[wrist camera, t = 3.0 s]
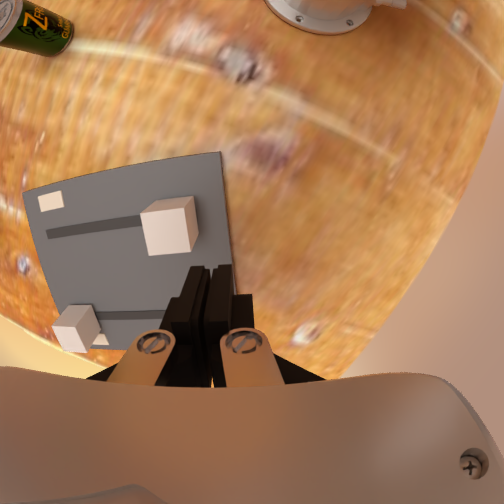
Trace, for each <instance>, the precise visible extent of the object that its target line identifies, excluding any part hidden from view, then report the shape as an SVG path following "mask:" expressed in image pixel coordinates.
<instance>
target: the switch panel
mask: <svg viewBox="0 0 504 504" xmlns="http://www.w3.org/2000/svg"><path fill="white" fill-rule="evenodd" d="M22 195H23V200H24V204H25V209H26V213H27V218H28V222H29V226H30V229H31V233H32V237H33V240H34V244H35V247H36V251H37V254H38V257H39V260H40V263H41V266H42V269H43V272H44V275H45V278H46V281H47V284H48V286H49V289H50V292H51V294H52V297H53V299H54V302H55V304H56V307H57V309H58V312H59V314H60V315H61V314H62V313H63V311H64V310H65V309H66V308H67V307H68V305H92V308H93V311H94V313H95V316H96V318H97V321H98V323H99V326H100V328H101V330H100V332H99V334H98V335H97V337H96V339H95V340H94V342H93V344H92V345H91V347H90V348H91V349H112V350H128V348H129V347H130V345H131V344H132V342H133V341H134V340H135V338H136V337H137V336H139V335H140V334H142V333H144V332H147V331H150V330H158V329H159V327H160V324H161V322H162V319H163V316H164V314H165V311H166V309H167V306H168V304H169V301H170V299H171V297H179V296H180V293H181V291H182V288H183V285H184V282H185V280H186V277H187V274H188V272H189V269H190V267H191V266H202V265H204V266H205V269H210V274H211V277H212V272H213V268H218V265H222V264H232V269H233V282H234V294H235V295H237V292H236V284H235V276H234V267H233V259H232V251H231V242H230V234H229V225H228V216H227V207H226V198H225V189H224V180H223V170H222V161H221V152H212V153H204V154H196V155H188V156H181V157H175V158H168V159H162V160H156V161H150V162H144V163H139V164H134V165H128V166H123V167H118V168H114V169H109V170H104V171H100V172H96V173H91V174H87V175H83V176H79V177H75V178H71V179H67V180H63V181H60V182H56V183H52V184H49V185H45V186H42V187H38V188H35V189H32V190H29V191H26V192H24V193H22ZM187 196H194V203H195V210H196V217H197V224H198V231H199V234H198V236H197V239H196V241H195V244H194V246H193V248H192V251H191V252H185V253H174V254H163V255H152V256H149V254H148V250H147V245H146V240H145V236H144V231H143V226H142V221H141V216H140V213H141V212H142V211H144V210H145V209H146V208H147V207H149V206H150V205H151V204H152V203H153V202H155V201H156V200H163V199H171V198H179V197H187Z"/></svg>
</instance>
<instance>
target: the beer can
mask: <svg viewBox="0 0 504 504" xmlns="http://www.w3.org/2000/svg"><path fill="white" fill-rule="evenodd" d="M72 35H73V27H72V24H71V22H70V21H69V20H67V19H65V18H63V17H61V16H59V15H57V14H55V13H53V12H51V11H49V10H47V9H45V8H43V7H41V6H38V5H36V4H34V3H32V2H29V1H27V0H1V1H0V46H2V47H7V48H12V49H16V50H21V51H25V52H29V53H33V54H37V55H41V56H46V57H50V56H53V55H56V54H58V53H60V52H62V51H63V50H64V49H65V48H66V47H67V45H68V44H69V42H70V40H71V38H72Z"/></svg>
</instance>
